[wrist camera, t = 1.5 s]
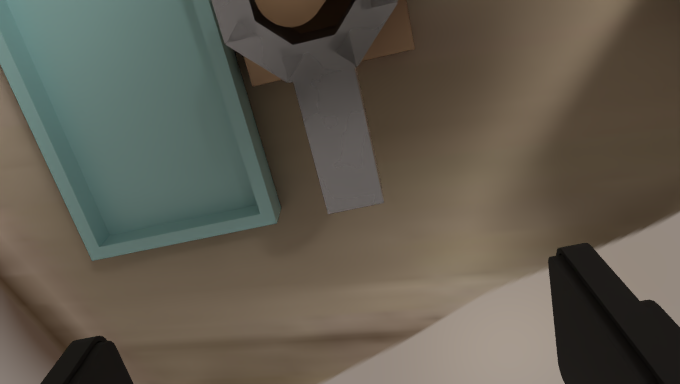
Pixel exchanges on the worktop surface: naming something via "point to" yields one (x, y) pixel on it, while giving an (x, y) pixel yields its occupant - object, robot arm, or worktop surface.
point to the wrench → (320, 88)
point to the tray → (138, 119)
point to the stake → (325, 11)
